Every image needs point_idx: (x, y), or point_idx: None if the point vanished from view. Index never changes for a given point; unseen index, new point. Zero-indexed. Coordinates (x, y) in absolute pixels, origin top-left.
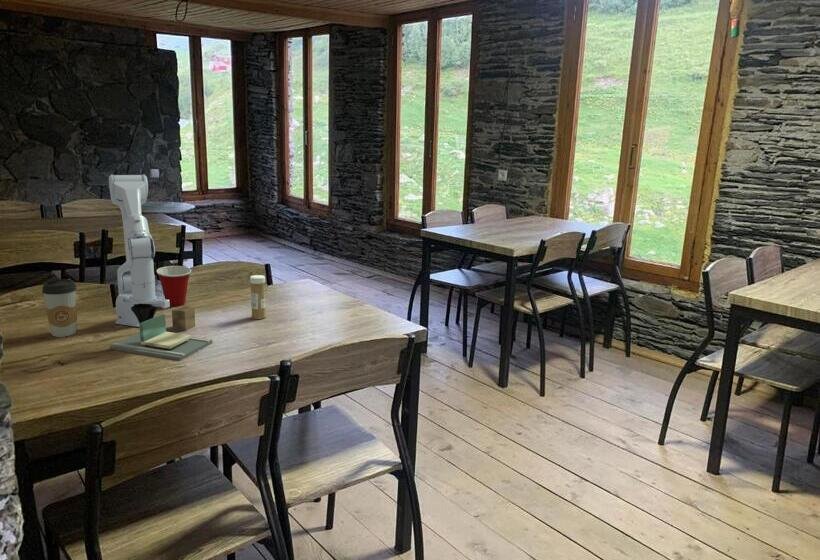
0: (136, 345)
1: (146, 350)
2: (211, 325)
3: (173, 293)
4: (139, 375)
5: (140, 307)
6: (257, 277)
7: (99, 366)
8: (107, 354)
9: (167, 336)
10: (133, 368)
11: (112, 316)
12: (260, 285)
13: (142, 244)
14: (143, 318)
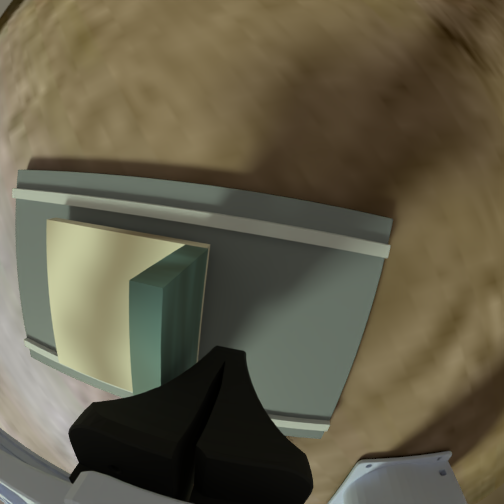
0: (254, 259)
1: (160, 199)
2: None
3: None
4: (96, 9)
5: (154, 467)
6: None
7: (291, 10)
8: (355, 143)
9: (124, 344)
10: (138, 35)
11: (462, 475)
12: None
13: None
14: (185, 390)
